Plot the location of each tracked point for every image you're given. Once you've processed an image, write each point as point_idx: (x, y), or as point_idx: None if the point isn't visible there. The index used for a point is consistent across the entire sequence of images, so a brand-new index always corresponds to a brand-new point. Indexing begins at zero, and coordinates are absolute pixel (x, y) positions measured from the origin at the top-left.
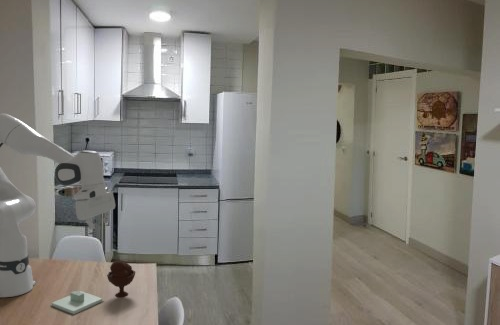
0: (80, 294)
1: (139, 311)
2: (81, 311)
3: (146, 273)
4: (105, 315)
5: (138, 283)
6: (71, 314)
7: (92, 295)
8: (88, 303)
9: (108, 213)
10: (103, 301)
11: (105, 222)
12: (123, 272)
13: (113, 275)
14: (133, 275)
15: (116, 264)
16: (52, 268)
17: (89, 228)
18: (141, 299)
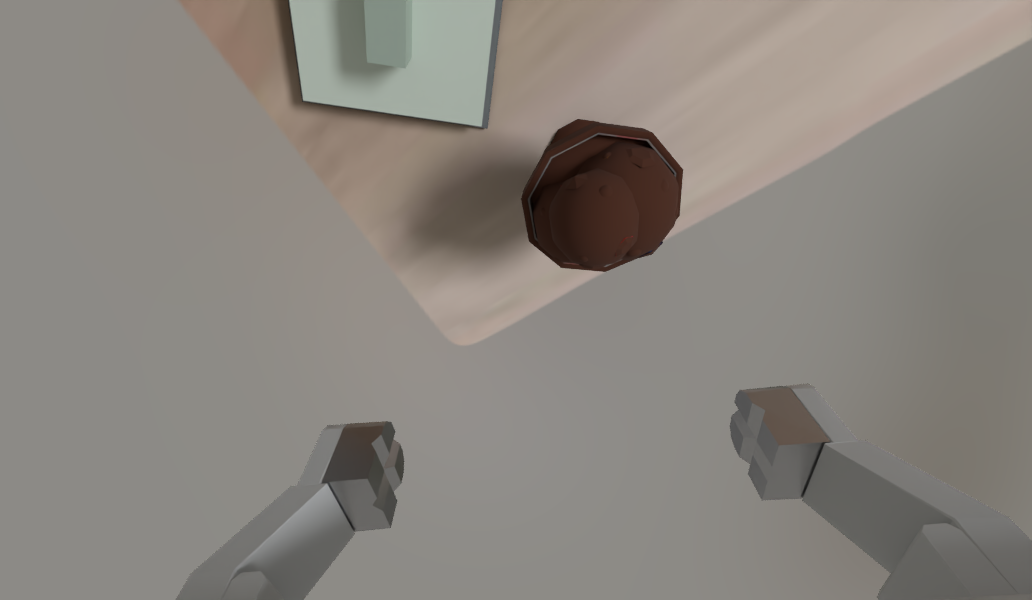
0: (384, 58)
1: (485, 292)
2: (350, 107)
3: (903, 77)
4: (396, 216)
5: (743, 130)
6: (300, 86)
7: (486, 46)
8: (402, 104)
9: (881, 595)
10: (484, 126)
11: (741, 410)
12: (564, 260)
13: (541, 206)
14: (601, 269)
15: (568, 247)
16: None
17: (326, 434)
18: None
